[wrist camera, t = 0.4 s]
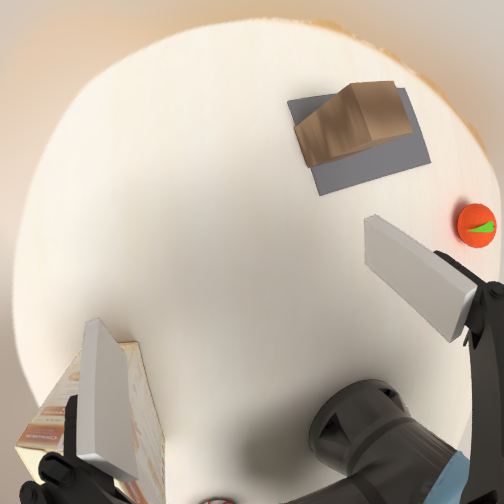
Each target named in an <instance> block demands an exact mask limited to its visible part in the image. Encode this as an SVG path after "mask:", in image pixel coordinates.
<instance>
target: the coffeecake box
mask: <svg viewBox="0 0 504 504" xmlns="http://www.w3.org/2000/svg"><path fill="white" fill-rule="evenodd" d="M117 344H118V345H119V346H120V348H121V349H122V350H123V352H124V353H125V354H126V356H127V368H128V387H129V401H130V413H131V423H132V432H133V441H134V449H135V456H136V463H137V470H138V476H139V480H135V481H129V482H123V483H122V482H120V481H118V480H116V479H114V485H115V486H116V487H117V488H119V489H120V490H121V491H122V492H123V493H124V494H125V495H127V496H128V497H129V498H130V499H131V500H132V501H133V502H135V503H136V504H166V495H165V440H164V436H163V433H162V430H161V427H160V423H159V420H158V417H157V414H156V410H155V407H154V403H153V400H152V396H151V393H150V389H149V385H148V381H147V378H146V374H145V370H144V366H143V362H142V358H141V354H140V349H139V345H138V342H130V343H117ZM81 354H82V350H81V351H80V352H79V354H78V355H77V357H76V358H75V359H74V361H73V362H72V363H71V365H70V366H69V367H68V369H67V370H66V371H65V373H64V374H63V376H62V377H61V378H60V380H59V381H58V383H57V384H56V385H55V387H54V388H53V390H52V391H51V393H50V394H49V396H48V397H47V398H46V400H45V401H44V403H43V404H42V406H41V407H40V409H39V410H38V412H37V413H36V415H35V416H34V418H33V419H32V421H31V422H30V424H29V425H28V427H27V428H26V430H25V432H24V433H23V435H22V436H21V438H20V439H19V441H18V443H17V444H16V445H15V448H16V450H17V452H18V454H19V455H20V457H21V459H22V460H23V462H24V464H25V466H26V467H27V469H28V470H29V472H30V473H31V475H32V476H33V478H34V480H35V481H36V483H38V484H40V485H41V484H43V483H45V482H44V481H42V480H41V479H40V477H39V474H38V466H39V462H40V460H41V459H42V457H43V456H44V455H45V454H47V453H49V452H57V453H59V454H61V455H62V456H63V448H64V430H65V428H64V421H65V407H66V405H67V402H68V400H69V397H70V396H74V395H77V394H78V386H79V374H80V364H81Z"/></svg>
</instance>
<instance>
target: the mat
mask: <svg viewBox="0 0 504 504" xmlns="http://www.w3.org/2000/svg"><path fill="white" fill-rule="evenodd" d="M397 91H398V93H399V96H400V98H401V101H402V103H403V106H404V108H405V111H406V114H407V116H408V119H409V122H410V125H411V127H412V130H413V133H410V134H407V135H405V136H402V137H399V138H396V139H394V140H391V141H388V142H386V143H383V144H380V145H378V146H375V147H372V148H370V149H367V150H365V151H362V152H359V153H357V154H354V155H352V156H349V157H347V158H344V159H340V160H337V161H333V162H329V163H325V164H321V165H317V166H314V167H310V168H311V171H312V174H313V177H314V180H315V183H316V186H317V189H318V192H319V195H320V196H322V195H325V194H328V193H331V192H335V191H338V190H341V189H344V188H348V187H351V186H354V185H357V184H361V183H364V182H367V181H371V180H374V179H377V178H381V177H384V176H387V175H391V174H394V173H398V172H401V171H405V170H408V169H411V168H415V167H418V166H422V165H425V164H429V163H431V161H430V157H429V154H428V151H427V147H426V144H425V141H424V138H423V135H422V132H421V129H420V126H419V124H418V121H417V118H416V115H415V113H414V110H413V107H412V105H411V102H410V100H409V97H408V95H407V92H406V90H405V88H397ZM335 95H336V94H329V95H322V96H315V97H309V98H302V99H296V100H290V101H288V102H287V103H288V106H289V108H290V111H291V114H292V116H293V119H294V122H295V125H296V126H297V125H299V124H300V123H301V122H302V121H303V120H305V119H306V118H307V117H308V116H310V115H311V114H312V113H313V112H314V111H316V110H317V109H318V108H319V107H321V106H322V105H323V104H324V103H326V102H327V101H328V100H330V99H331V98H332V97H333V96H335Z"/></svg>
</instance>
